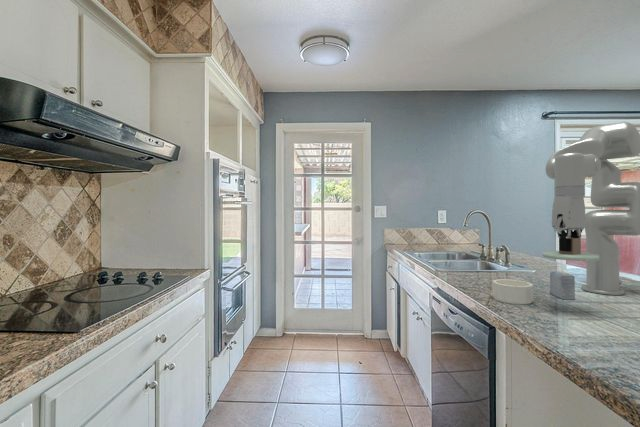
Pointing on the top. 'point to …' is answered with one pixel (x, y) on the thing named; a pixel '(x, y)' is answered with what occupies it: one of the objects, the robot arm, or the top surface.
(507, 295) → the bowl
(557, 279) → the medicine box
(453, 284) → the top surface
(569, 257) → the lid
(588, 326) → the top surface
